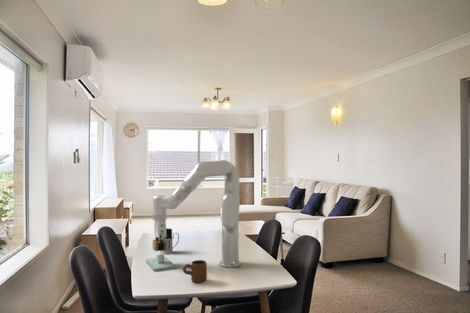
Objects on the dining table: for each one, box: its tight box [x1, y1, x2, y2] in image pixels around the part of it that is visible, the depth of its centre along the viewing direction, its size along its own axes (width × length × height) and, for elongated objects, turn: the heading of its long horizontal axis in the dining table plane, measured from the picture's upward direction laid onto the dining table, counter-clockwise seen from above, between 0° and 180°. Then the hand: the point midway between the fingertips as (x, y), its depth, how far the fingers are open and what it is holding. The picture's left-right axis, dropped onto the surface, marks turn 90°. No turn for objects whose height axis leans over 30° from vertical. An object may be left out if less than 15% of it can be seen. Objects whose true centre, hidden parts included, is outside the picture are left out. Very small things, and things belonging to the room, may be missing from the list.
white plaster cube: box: [155, 254, 165, 264], centre depth 202 cm, size 4×4×4 cm
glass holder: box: [159, 228, 180, 256], centre depth 227 cm, size 9×14×15 cm, turn 64°
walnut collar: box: [152, 239, 167, 252], centre depth 202 cm, size 6×6×5 cm
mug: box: [182, 259, 208, 284], centre depth 174 cm, size 12×8×9 cm, turn 112°
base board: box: [145, 256, 176, 272], centre depth 202 cm, size 20×12×2 cm, turn 27°
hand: (159, 248), depth 202 cm, fingers closed on walnut collar, 6 cm apart
